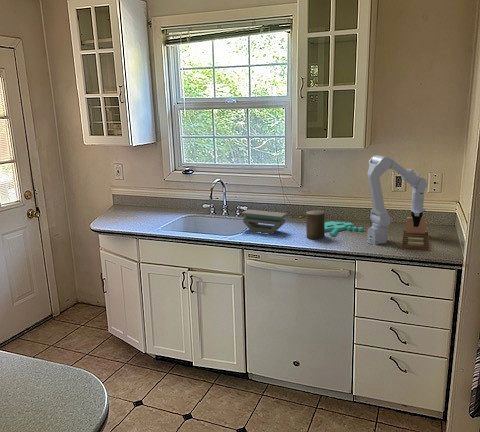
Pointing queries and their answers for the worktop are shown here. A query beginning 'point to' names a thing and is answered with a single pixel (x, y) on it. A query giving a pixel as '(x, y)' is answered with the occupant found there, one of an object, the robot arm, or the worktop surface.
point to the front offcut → (416, 243)
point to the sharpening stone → (263, 220)
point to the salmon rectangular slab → (412, 229)
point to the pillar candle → (315, 224)
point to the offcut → (415, 239)
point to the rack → (415, 235)
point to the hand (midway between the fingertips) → (416, 226)
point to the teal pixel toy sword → (340, 227)
